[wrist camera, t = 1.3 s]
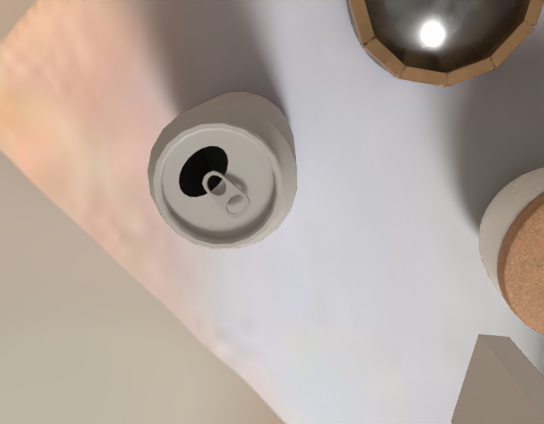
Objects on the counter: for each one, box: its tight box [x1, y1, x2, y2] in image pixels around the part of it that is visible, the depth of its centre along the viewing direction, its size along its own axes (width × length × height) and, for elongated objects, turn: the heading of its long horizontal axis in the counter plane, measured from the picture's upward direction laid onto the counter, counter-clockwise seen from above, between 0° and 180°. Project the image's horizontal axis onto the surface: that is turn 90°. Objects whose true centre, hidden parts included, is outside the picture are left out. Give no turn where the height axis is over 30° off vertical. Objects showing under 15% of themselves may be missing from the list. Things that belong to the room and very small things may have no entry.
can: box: [148, 91, 297, 249], centre depth 26 cm, size 8×8×12 cm
